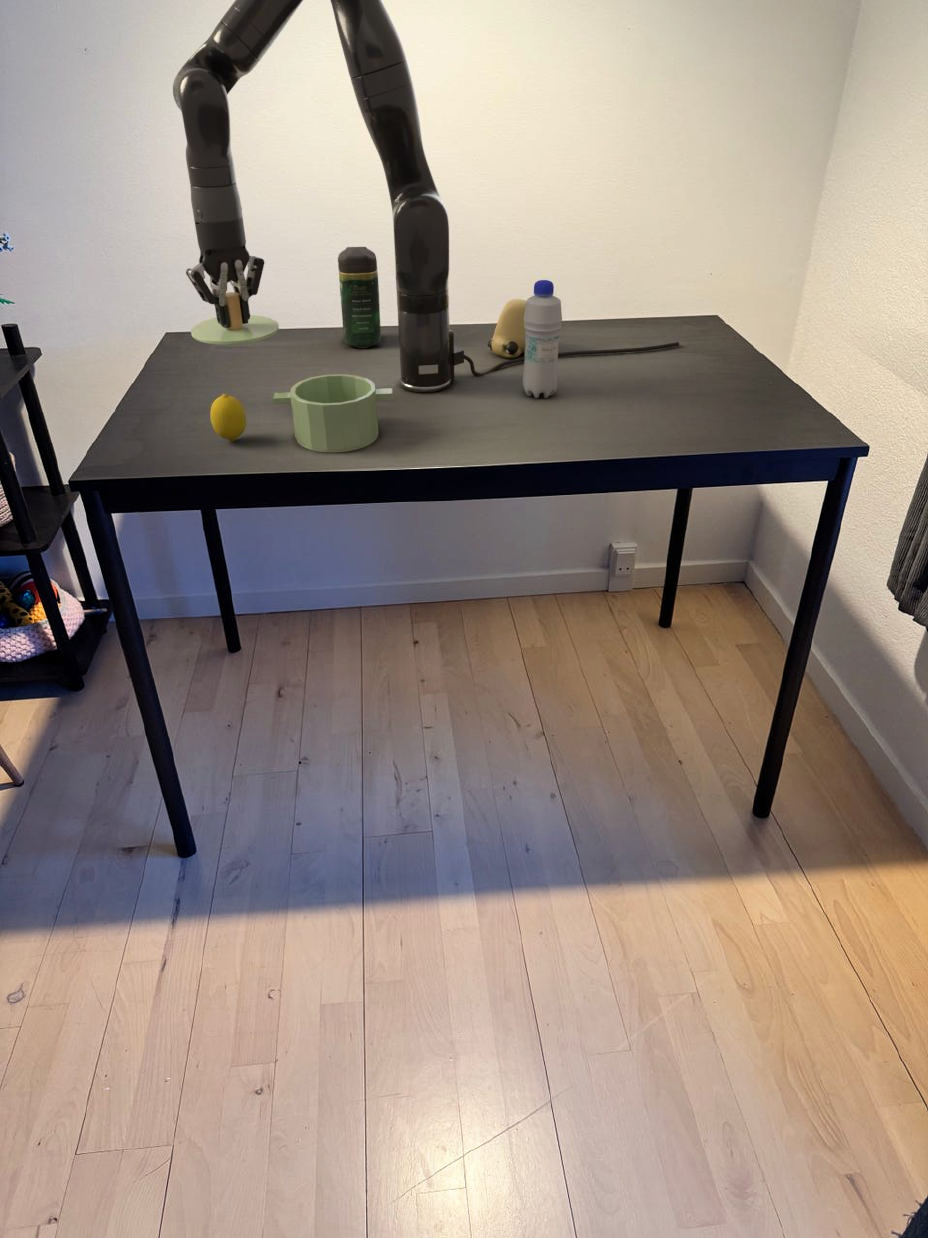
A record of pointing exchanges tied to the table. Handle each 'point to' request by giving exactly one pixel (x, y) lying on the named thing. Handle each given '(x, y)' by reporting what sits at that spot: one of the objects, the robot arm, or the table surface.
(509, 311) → the beige curved piece
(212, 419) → the lemon
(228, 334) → the lid
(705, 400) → the table surface
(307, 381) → the pot
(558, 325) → the bottle
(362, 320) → the coffee jar
